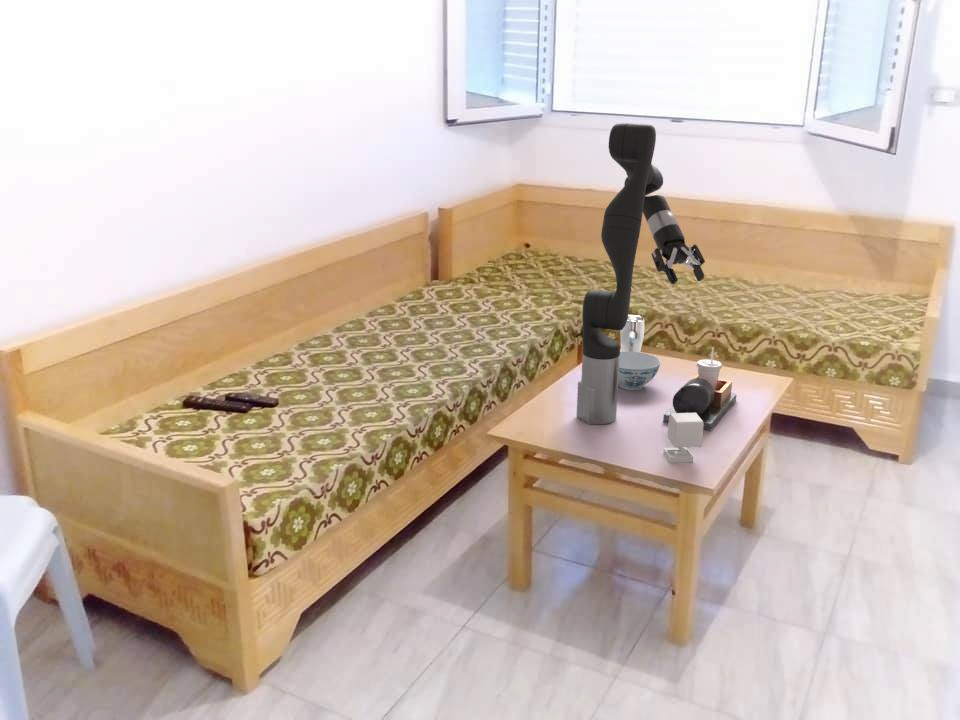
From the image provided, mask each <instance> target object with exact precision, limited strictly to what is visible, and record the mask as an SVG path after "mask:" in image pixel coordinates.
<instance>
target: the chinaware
mask: <svg viewBox="0 0 960 720" xmlns="http://www.w3.org/2000/svg"><path fill="white" fill-rule="evenodd" d="M660 366H661V360H660V358H659V357H657V356H655V355H653V354H649V353H645V352H641V351H640V352H622V351H620V361H619V377H618V387H619V388H621V389H623V390H627V391H639V390H642V389H643V388H644V386H645V385H647V384H648V383H649V382H651V381H652V380H653V379H654V378H655V377H656V375H657V374H658V372H659V369H660Z"/></svg>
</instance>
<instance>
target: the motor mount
mask: <svg viewBox="0 0 960 720" xmlns="http://www.w3.org/2000/svg"><path fill="white" fill-rule="evenodd" d="M732 389H733V381H732V380H726V379H720V378H718V381H717V385H716V389H715V390H714V389H713V387H712V385H711V384H710V383H709V382H708V381H706V380H704V379H701V378H698V374H695V375H694V376H692V377H691V378H690V380H688V381H687V382H686V383H685V384H684V385H683V386H682V387H680V389H678V391H676V393H675V394H674V395H673V398H672V406H671V407H670V408H669V409H667V411H665V412H664V413H663V423H668V424H669V414H670V413H697V414H698V416H699V417H700V418H701V419H702V421H703V423H704V426H703V431H706V432H711V431H712V430H713V429H714V427H716V425H717V424H718V423H719V421H721V419H722V418H723V417H724V416H725V414H726V413H727V412H728V410H729V409H731V407H732V406H733V404H735V402H736V401H737V393H735V392H732Z"/></svg>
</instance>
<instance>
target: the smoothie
mask: <svg viewBox="0 0 960 720" xmlns="http://www.w3.org/2000/svg"><path fill="white" fill-rule="evenodd" d="M714 352H715V346H714V347H711V354H710V358H709V359H705V358H704V359H699V360H698V361H697V362H696V363H697V364H696V367H697V375H698V378H701V379H704V380H706V381H708V382H709V383H710V384H711V385H712V387H713V389H714V390H715V389H716V385H717V381H718V379H719V377H720V371H721V369H722V367H723V366H722V365H723V364H722V362H720V361H718V360H715V359H714V356H715V355H714V354H715V353H714Z"/></svg>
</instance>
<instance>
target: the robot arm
mask: <svg viewBox="0 0 960 720" xmlns="http://www.w3.org/2000/svg"><path fill="white" fill-rule="evenodd" d="M656 132H657V131H656V128H655V127H654V124H653V125H652V124H648V123H634V122H619V123H615V124H614V125H612V128H611V129H610V133H609V137H608V152H609V154H610V158H611V159H612V160H613V161H614V162H616V163H617V164H618V166H620V167H621V168H622V169H623V170H624V171H625V172H626V173H625V174H626V175H627V177H626V178H625V179H624V186H623V187H622V188H621V190H620V191H619V192H617V194H616V195H615V196H614V198H613V199H612V200H611V201H610V203H609V204H608V205H607V206H606V209H605V211H604V216H603V221H602V227H601V235H600V238H601V242H602V245H603V247H604V250H605V253H606V254H607V256H608V258H609V260H610V263H611V265H612V269H613V272H614V274H615V279H616V280H615V281H616V290H615V291H609V290H600V289H590V290H588V291H587V292H586V293H585V295H584V299H583V303H582V360H581V361H582V362H581V363H582V364H581V379H580V381H578V382H577V397H576V417H577V418H579V419H580V420H581V421H583V422H585V423H586V424H587V425H607V424H611V423H613V422H616V420H617V411H618V410H617V408H618V391H619V390H618V389H619V383H618V377H619V361H620V352H621V344H620V343H619V342H618V341H617V340H616V339H614V338H612V337H610V336H608V335H607V334H605V333H604V332H603V331H602V330H601V329H603V330H613V331H620V330H622V329H623V328H624V327H625V325H626V322H627V319H628V315H630V314H629V313H630V304H631V293H632V285H633V284H632V283H633V273H634V266H635V259H636V254H637V249H638V243H639V238H640V233H641V226H642V221H643V216H644V217H645V220H646V223H647V224H648V229H649V231H650V234H651V237H652V239H653V241H654V243H655V245H656V248H654V250H653V251H652V253H651V258H652V260H653V263H654V266H655V268H656V271H658V272H659V273H661V272H663V273H664V274H665V275H666V278H667V279H668V282H669V283H671V285H675V284H677V283H678V281H679V279H678V277H677V275H676V272H675V271H674V268H672V267H673V265H677V264H679V265H681V264H683V265H685V266H686V267H689V268H691V269H692V272H693V275H694V276H695V278H696V280H697V282H701V281H703V280H704V277H705V273H704V272H703V269H702V265H704V263H705V262H706V260H705V258H704V257H703V255H702V252H701V250H700V249H699V247H698V245H697V244H696V243H695V244H694V243H693V245H692V246H687V244H686V242H685V241H686V240H685V239H686V238H685V236H684V234H683V232H682V230H681V228H680V225H679V223H678V221H677V219H676V217H675V215H674V214H673V212H672V210H671V209H670V208H671V207H670V206H669V203H668V202H667V199H666V197H664V196H663V195H661V194H655V195H650V194H653V193H654V192H656V191H659V190H660V189H661V188H662V186H663V185H664V177H663V174H662V172H661V171H660V170H659V169H658V167H657V166H655V164H652V163H653V157H654V154H655V153H654V152H655V147H656V142H657V140H656V139H657V133H656ZM648 195H649V196H648ZM688 258H689V259H688ZM664 259H665V261H664ZM687 259H688V260H687Z"/></svg>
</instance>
